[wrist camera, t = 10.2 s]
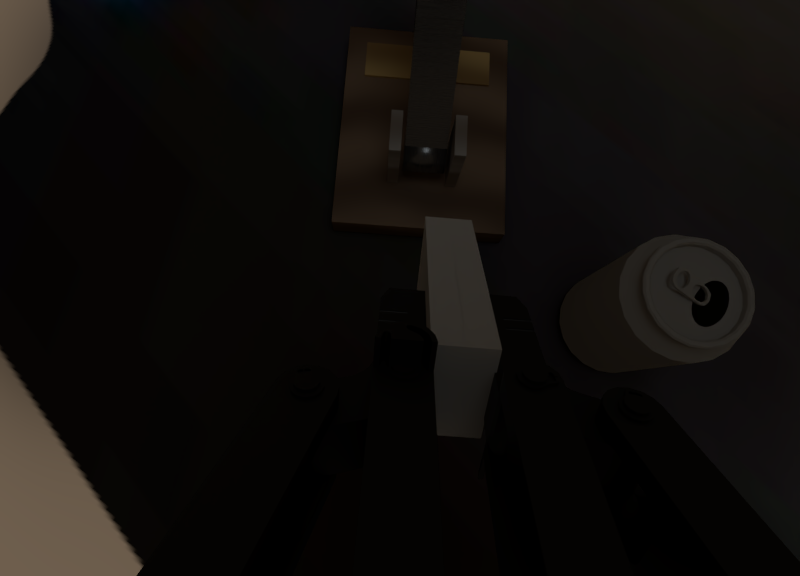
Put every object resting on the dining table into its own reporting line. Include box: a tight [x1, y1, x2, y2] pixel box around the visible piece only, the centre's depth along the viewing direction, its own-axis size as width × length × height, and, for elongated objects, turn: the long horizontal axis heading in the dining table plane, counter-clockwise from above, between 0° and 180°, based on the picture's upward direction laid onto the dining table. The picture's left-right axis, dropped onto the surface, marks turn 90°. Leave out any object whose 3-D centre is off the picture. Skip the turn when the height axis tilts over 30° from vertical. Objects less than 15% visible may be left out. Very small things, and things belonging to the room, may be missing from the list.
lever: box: [403, 0, 467, 174], centre depth 31 cm, size 3×3×21 cm
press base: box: [332, 27, 507, 243], centre depth 38 cm, size 17×13×7 cm
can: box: [559, 234, 755, 373], centre depth 33 cm, size 8×8×12 cm
